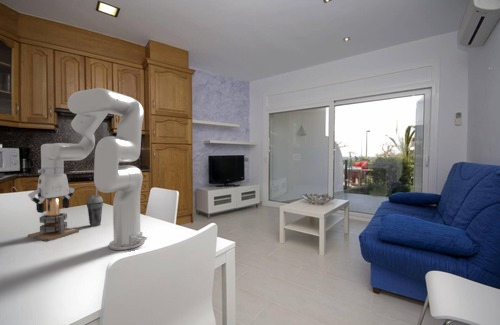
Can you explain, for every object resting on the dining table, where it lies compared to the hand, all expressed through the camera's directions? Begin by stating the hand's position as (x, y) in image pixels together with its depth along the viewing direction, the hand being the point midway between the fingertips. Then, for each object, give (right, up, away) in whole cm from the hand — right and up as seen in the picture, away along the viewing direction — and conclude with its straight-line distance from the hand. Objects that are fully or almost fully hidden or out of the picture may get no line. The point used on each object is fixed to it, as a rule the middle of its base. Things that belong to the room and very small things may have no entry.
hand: (53, 209), depth 102 cm
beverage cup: (+9, -11, +14) cm, 20 cm away
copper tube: (0, -10, 0) cm, 10 cm away
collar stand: (0, -11, 0) cm, 11 cm away
